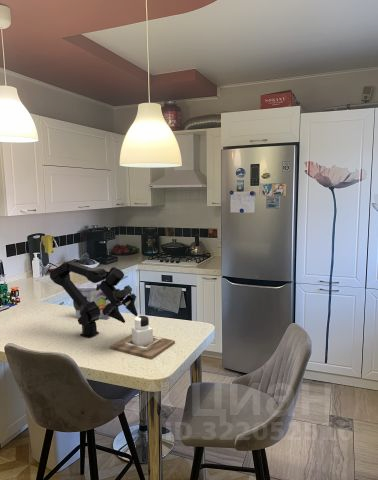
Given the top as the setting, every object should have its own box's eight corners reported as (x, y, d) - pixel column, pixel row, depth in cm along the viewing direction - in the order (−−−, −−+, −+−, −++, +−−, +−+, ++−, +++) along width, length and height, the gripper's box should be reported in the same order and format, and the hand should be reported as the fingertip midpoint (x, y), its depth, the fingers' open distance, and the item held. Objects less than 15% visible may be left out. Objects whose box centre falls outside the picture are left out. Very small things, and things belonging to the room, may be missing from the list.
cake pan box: (73, 318, 205) (71, 286, 203) (77, 315, 210) (75, 284, 208) (107, 319, 202) (106, 287, 200) (111, 316, 207) (109, 285, 205)
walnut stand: (110, 348, 166) (109, 343, 165) (135, 334, 181) (135, 329, 181) (151, 359, 155) (151, 353, 154) (174, 343, 170) (174, 338, 170)
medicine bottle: (146, 338, 173) (145, 313, 171) (153, 344, 167) (152, 317, 165) (131, 342, 169) (130, 316, 167) (138, 348, 163) (137, 321, 161)
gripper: (106, 286, 161) (128, 314, 158) (132, 276, 177) (153, 302, 174) (92, 301, 166) (113, 329, 162) (119, 290, 182) (139, 316, 179)
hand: (131, 318), depth 169 cm, fingers open, 9 cm apart
